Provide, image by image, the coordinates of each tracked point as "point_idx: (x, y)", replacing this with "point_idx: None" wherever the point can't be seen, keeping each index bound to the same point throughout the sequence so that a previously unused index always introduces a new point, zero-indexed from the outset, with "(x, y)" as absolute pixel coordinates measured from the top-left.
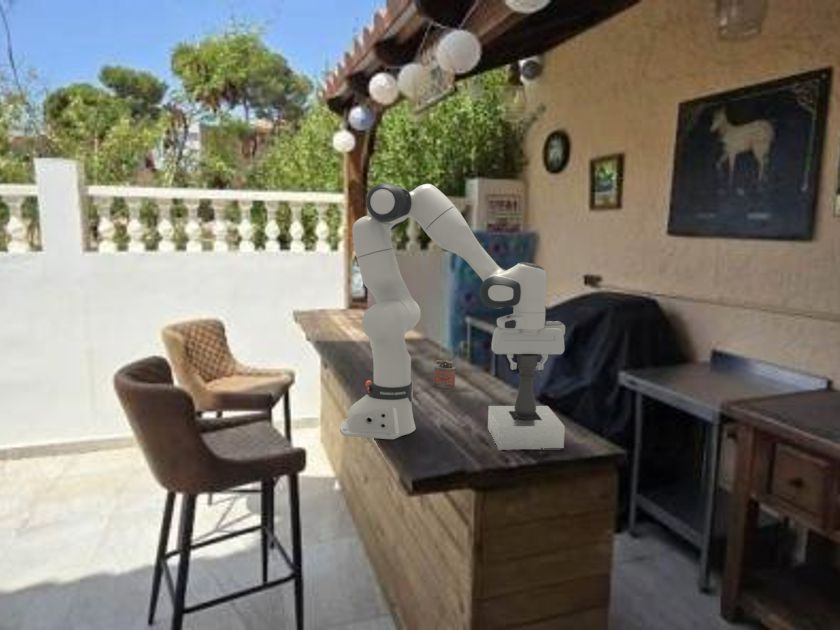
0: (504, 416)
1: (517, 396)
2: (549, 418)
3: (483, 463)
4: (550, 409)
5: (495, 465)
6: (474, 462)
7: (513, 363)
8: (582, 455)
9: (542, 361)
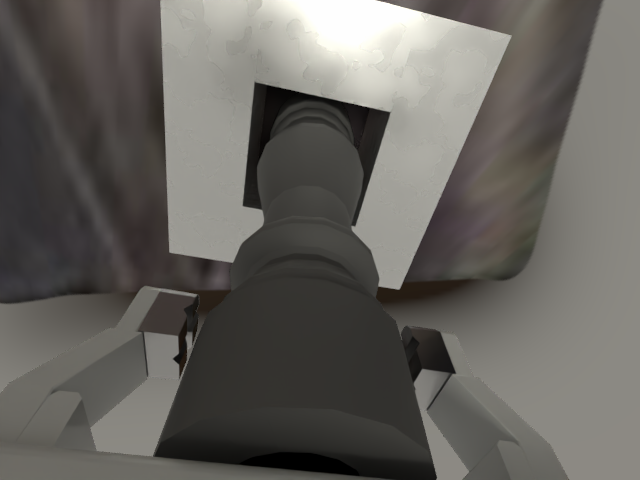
0: (214, 156)
1: (261, 194)
2: (394, 216)
3: (142, 269)
4: (480, 103)
5: (171, 283)
6: (119, 260)
7: (139, 378)
8: (414, 274)
9: (446, 427)
